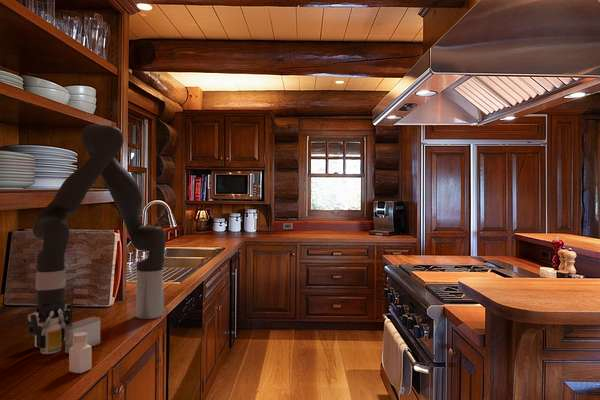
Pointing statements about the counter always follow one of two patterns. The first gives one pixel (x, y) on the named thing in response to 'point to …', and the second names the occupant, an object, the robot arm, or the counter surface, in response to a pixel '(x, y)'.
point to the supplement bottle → (52, 337)
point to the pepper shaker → (80, 354)
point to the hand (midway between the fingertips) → (50, 344)
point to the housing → (85, 325)
